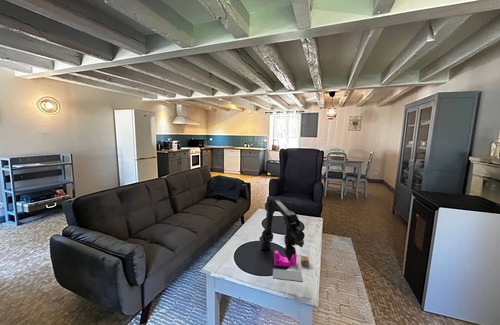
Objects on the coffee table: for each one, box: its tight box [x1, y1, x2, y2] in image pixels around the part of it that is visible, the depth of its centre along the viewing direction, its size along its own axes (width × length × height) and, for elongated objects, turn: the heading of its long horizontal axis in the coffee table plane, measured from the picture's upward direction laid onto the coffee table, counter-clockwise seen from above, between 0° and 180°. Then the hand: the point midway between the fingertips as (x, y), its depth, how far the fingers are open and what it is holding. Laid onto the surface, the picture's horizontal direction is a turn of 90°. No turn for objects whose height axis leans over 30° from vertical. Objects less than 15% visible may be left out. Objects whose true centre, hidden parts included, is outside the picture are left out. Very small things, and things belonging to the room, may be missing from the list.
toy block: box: [273, 250, 298, 268], centre depth 141 cm, size 15×6×8 cm, turn 85°
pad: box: [272, 268, 304, 283], centre depth 130 cm, size 18×9×1 cm, turn 82°
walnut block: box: [300, 255, 310, 267], centre depth 142 cm, size 5×5×4 cm
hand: (289, 256), depth 129 cm, fingers open, 9 cm apart
